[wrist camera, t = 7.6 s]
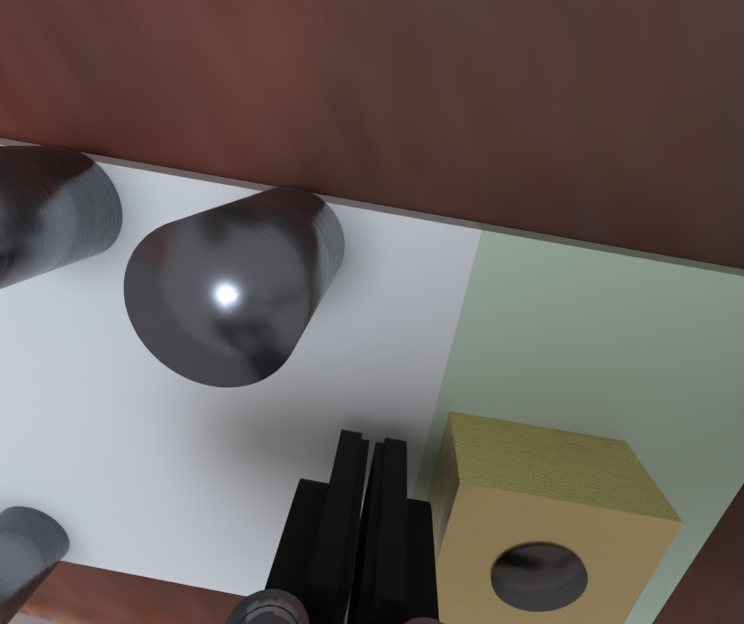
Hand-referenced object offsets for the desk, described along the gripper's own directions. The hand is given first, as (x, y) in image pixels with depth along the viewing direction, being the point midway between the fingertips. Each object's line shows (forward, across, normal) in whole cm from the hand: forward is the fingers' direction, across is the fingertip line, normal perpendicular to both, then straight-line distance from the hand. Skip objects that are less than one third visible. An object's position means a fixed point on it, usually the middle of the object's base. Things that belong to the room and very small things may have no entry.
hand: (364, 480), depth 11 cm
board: (+2, +4, 0) cm, 4 cm away
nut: (+1, -4, 0) cm, 4 cm away
